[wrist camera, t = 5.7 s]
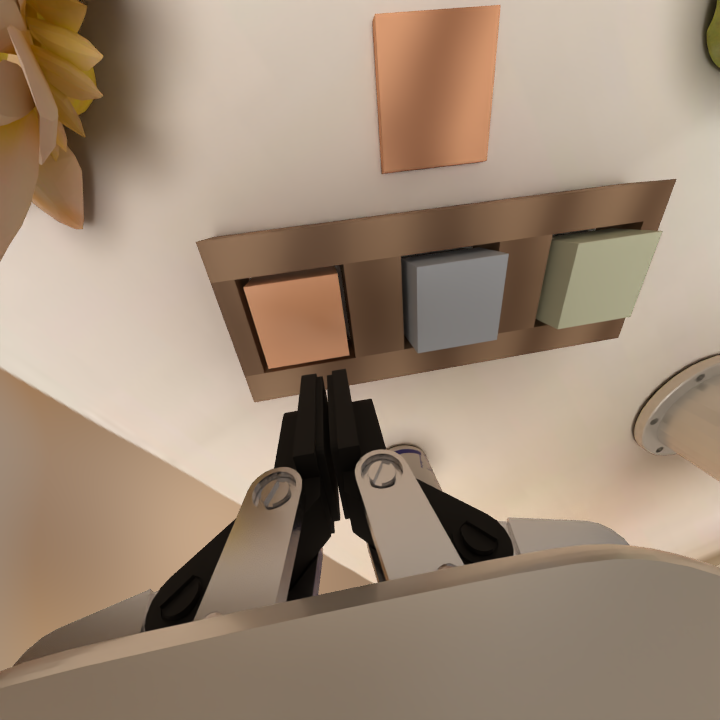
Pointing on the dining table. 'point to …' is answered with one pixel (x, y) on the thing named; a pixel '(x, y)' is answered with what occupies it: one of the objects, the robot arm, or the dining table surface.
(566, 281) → the sage button
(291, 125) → the dining table surface
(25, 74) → the decorative flower
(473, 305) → the slate button
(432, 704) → the robot arm
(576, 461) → the dining table surface
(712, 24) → the plant pot
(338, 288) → the terracotta button
